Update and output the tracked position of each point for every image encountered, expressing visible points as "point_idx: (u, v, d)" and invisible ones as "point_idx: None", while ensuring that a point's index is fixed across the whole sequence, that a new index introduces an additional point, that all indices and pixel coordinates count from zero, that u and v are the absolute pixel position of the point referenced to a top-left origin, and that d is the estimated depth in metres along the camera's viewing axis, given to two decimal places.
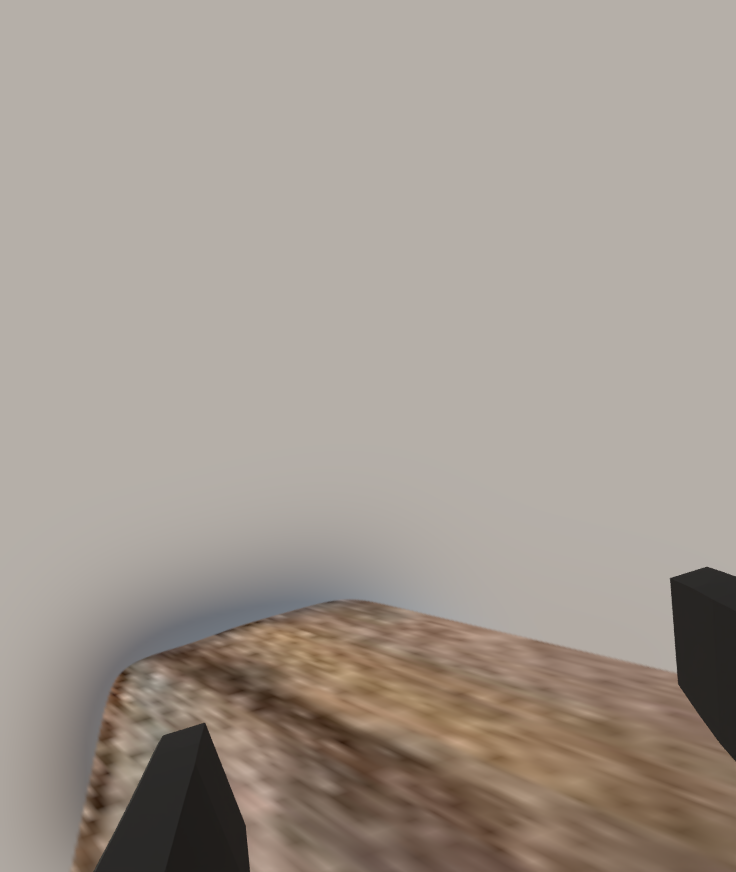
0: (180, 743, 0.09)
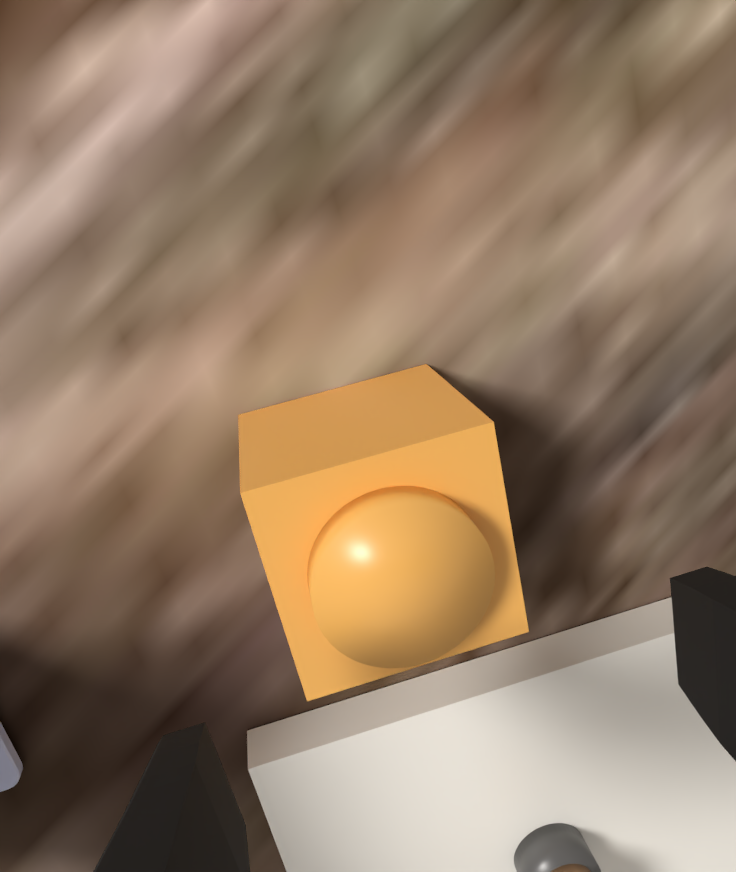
0: (180, 743, 0.09)
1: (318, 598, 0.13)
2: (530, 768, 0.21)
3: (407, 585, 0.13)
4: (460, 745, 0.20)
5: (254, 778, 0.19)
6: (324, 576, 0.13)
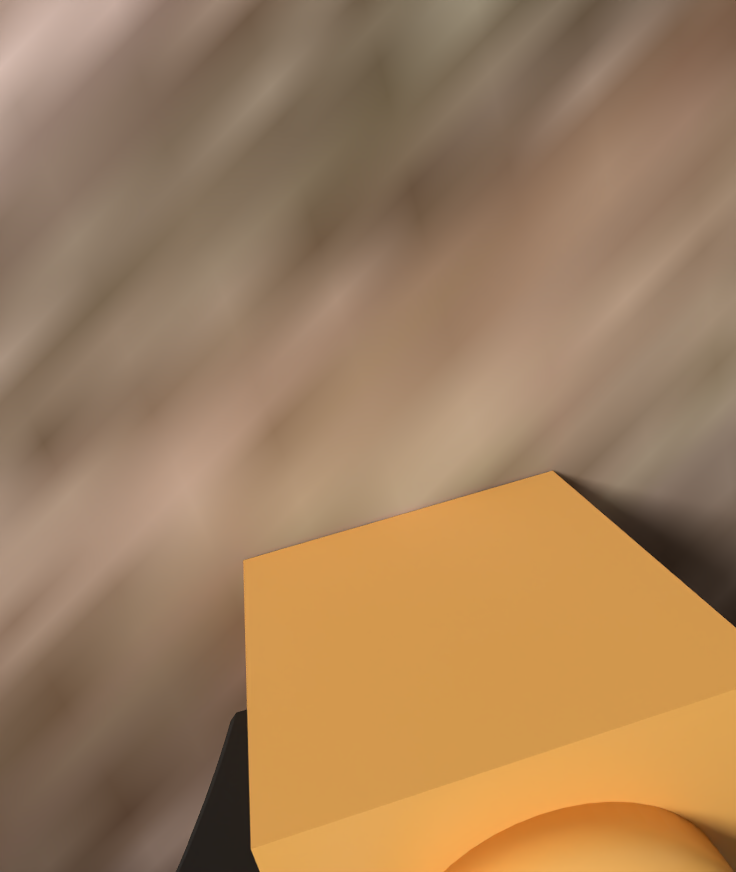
0: None
1: None
2: None
3: None
4: None
5: None
6: None
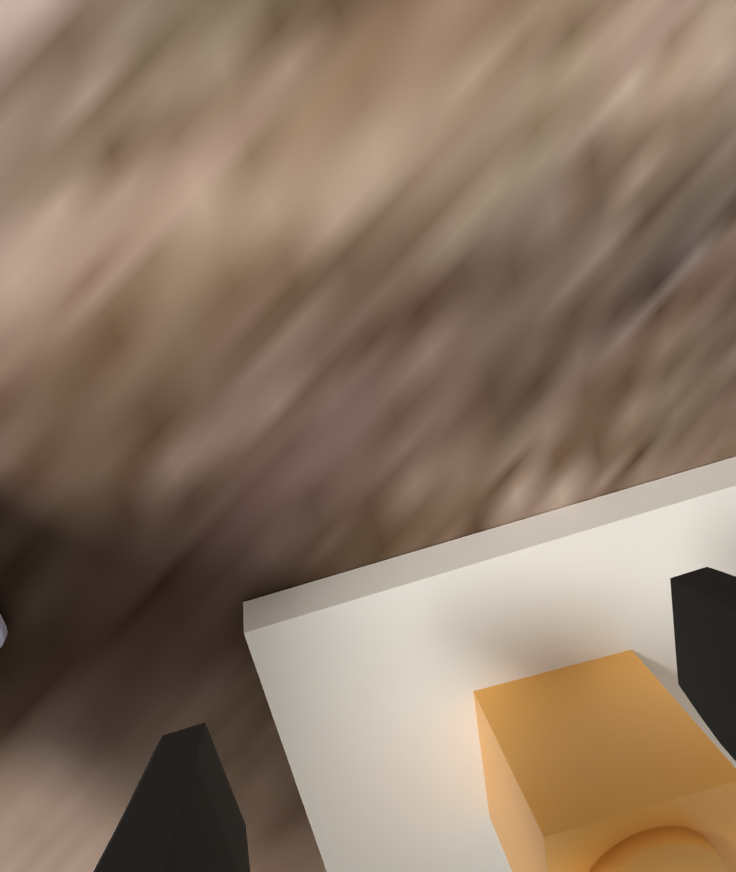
0: (180, 742, 0.09)
1: None
2: (540, 645, 0.20)
3: None
4: (466, 616, 0.19)
5: (250, 643, 0.18)
6: None
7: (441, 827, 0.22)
